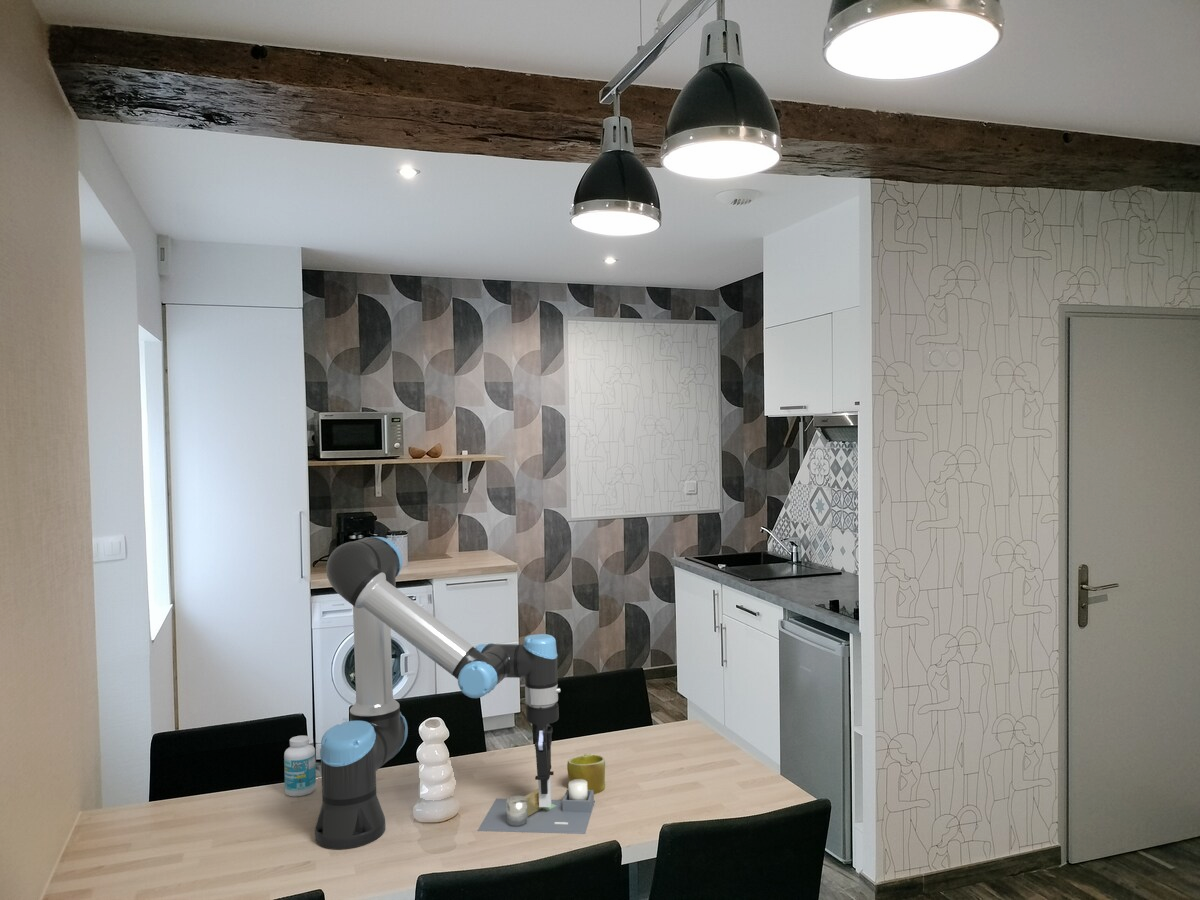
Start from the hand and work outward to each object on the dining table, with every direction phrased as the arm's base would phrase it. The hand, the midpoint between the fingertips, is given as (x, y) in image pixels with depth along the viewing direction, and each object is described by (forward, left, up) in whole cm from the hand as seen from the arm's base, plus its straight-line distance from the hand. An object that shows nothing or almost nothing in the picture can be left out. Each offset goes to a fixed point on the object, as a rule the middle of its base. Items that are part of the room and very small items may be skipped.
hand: (545, 805), depth 192 cm
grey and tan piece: (-4, -2, -1) cm, 5 cm away
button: (+7, +4, -1) cm, 8 cm away
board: (-1, -2, -3) cm, 3 cm away
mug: (+8, +16, -3) cm, 18 cm away
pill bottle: (-65, +11, -3) cm, 66 cm away
